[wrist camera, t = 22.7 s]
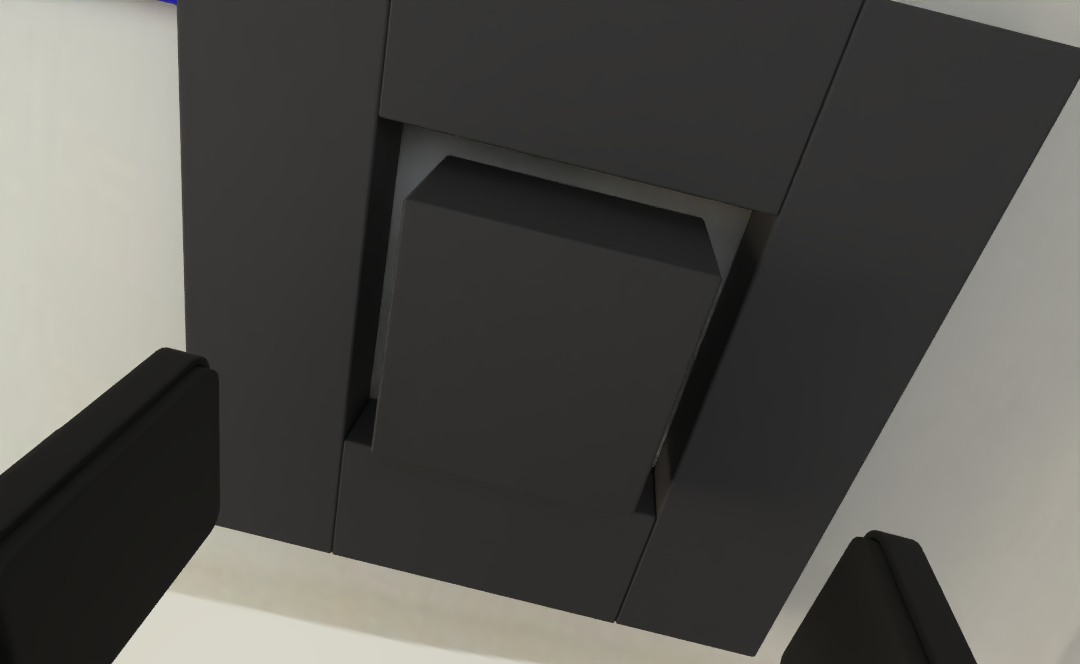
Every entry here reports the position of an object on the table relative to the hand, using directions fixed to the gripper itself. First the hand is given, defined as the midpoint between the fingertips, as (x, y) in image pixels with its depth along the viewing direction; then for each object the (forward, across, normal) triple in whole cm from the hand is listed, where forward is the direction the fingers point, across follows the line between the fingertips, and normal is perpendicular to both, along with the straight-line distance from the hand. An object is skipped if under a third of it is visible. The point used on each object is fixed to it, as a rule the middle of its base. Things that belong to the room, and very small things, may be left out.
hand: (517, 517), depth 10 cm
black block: (+8, 0, 0) cm, 8 cm away
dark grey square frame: (+8, 0, 0) cm, 8 cm away
